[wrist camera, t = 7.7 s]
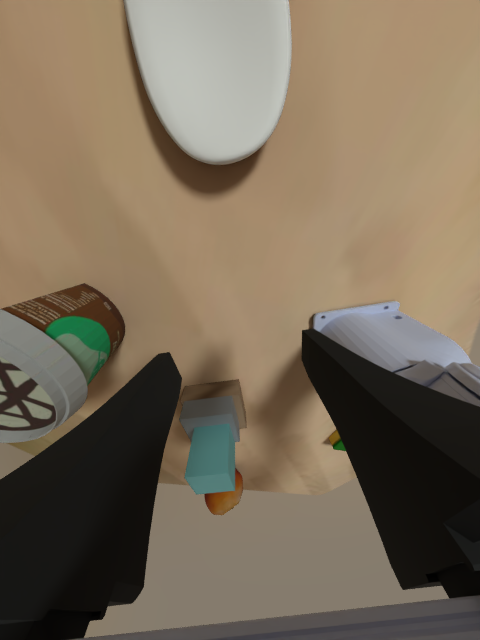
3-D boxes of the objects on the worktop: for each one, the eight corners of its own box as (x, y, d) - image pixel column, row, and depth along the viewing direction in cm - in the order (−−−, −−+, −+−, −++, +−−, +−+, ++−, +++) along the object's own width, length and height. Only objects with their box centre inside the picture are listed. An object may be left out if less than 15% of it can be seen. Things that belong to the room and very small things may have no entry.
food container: (122, 372, 24) (58, 459, 15) (71, 355, 22) (-34, 442, 13) (149, 299, 19) (78, 366, 10) (86, 270, 17) (-64, 321, 8)
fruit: (200, 467, 35) (218, 518, 30) (232, 447, 40) (253, 488, 35) (194, 483, 39) (209, 531, 34) (225, 464, 44) (242, 503, 38)
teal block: (229, 423, 22) (228, 473, 18) (234, 442, 24) (235, 490, 20) (194, 427, 22) (184, 477, 18) (203, 445, 24) (196, 494, 20)
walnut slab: (238, 376, 26) (239, 394, 23) (245, 409, 30) (246, 428, 27) (185, 383, 26) (180, 401, 23) (199, 415, 30) (196, 433, 27)
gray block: (231, 395, 23) (231, 413, 21) (239, 423, 26) (239, 441, 24) (184, 401, 23) (179, 419, 21) (197, 428, 27) (193, 446, 24)
